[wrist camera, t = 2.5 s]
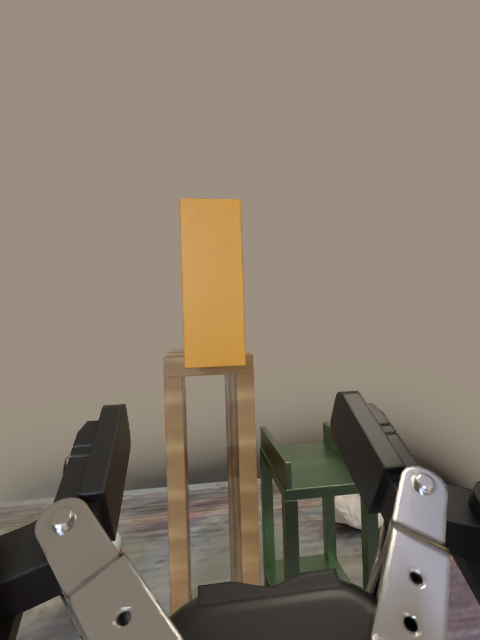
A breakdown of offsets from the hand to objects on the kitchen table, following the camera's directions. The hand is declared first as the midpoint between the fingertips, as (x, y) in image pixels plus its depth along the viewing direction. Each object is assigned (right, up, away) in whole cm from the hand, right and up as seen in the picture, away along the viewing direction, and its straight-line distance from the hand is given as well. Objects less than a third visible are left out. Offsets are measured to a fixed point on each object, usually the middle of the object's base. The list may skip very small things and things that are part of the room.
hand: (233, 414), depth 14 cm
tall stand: (-2, -32, +24) cm, 40 cm away
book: (-3, 0, +20) cm, 20 cm away
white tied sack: (+22, -32, +48) cm, 61 cm away
